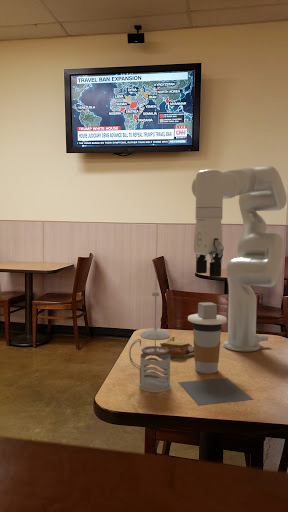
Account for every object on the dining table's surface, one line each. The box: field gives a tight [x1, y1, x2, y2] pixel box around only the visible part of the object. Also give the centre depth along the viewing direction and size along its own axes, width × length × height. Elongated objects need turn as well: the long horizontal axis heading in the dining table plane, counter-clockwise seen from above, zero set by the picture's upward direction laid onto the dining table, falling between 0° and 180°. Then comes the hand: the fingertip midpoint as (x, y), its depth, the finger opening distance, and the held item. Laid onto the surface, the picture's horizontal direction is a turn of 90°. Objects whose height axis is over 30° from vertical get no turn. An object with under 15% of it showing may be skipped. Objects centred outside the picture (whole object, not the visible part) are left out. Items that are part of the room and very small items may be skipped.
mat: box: [178, 377, 254, 406], centre depth 96 cm, size 14×14×1 cm
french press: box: [128, 290, 173, 393], centre depth 99 cm, size 10×12×25 cm
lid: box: [187, 301, 228, 325], centre depth 110 cm, size 11×11×5 cm
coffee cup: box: [192, 323, 222, 375], centre depth 110 cm, size 8×8×15 cm
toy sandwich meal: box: [159, 336, 194, 358], centre depth 129 cm, size 12×14×5 cm
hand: (208, 274), depth 109 cm, fingers open, 9 cm apart
